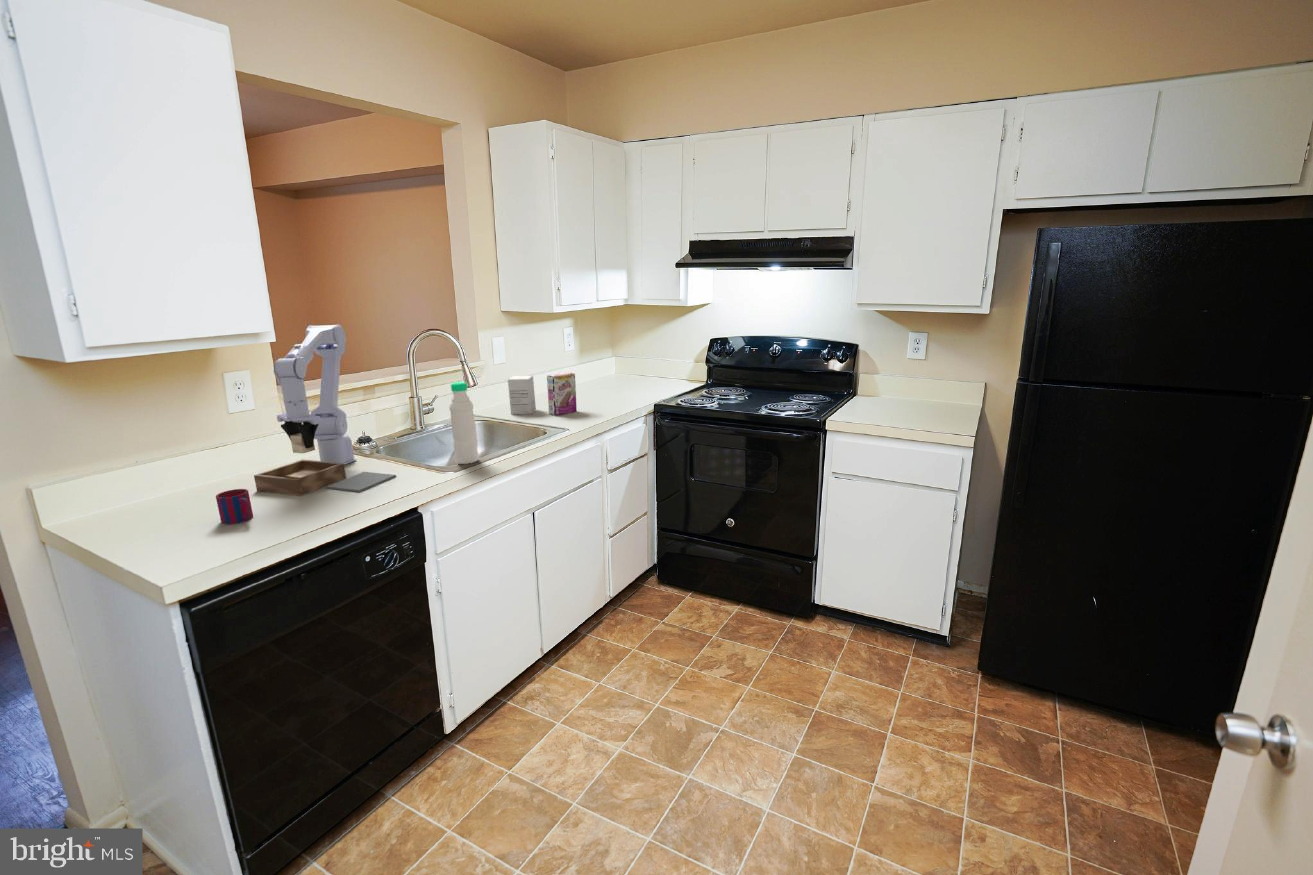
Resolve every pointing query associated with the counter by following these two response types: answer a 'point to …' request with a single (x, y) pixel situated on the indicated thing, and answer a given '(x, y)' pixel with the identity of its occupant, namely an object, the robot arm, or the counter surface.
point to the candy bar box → (561, 393)
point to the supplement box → (521, 395)
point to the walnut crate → (300, 477)
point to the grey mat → (361, 481)
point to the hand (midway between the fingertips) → (303, 447)
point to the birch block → (299, 444)
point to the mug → (234, 506)
